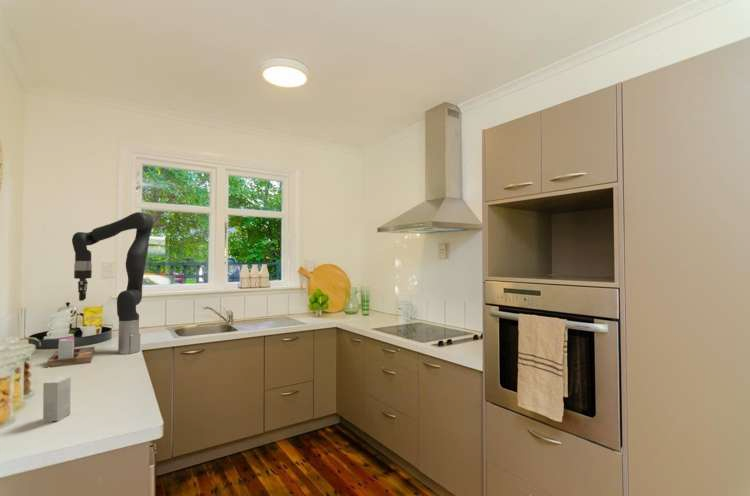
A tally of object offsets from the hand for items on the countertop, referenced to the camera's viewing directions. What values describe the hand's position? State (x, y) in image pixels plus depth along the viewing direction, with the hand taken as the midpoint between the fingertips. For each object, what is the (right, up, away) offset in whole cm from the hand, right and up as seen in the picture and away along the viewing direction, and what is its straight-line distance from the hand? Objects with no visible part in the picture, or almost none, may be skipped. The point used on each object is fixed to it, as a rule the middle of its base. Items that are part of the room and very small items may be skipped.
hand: (82, 299), depth 209 cm
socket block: (+6, -28, -15) cm, 32 cm away
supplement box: (+8, -28, -21) cm, 36 cm away
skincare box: (+58, -26, -87) cm, 108 cm away
